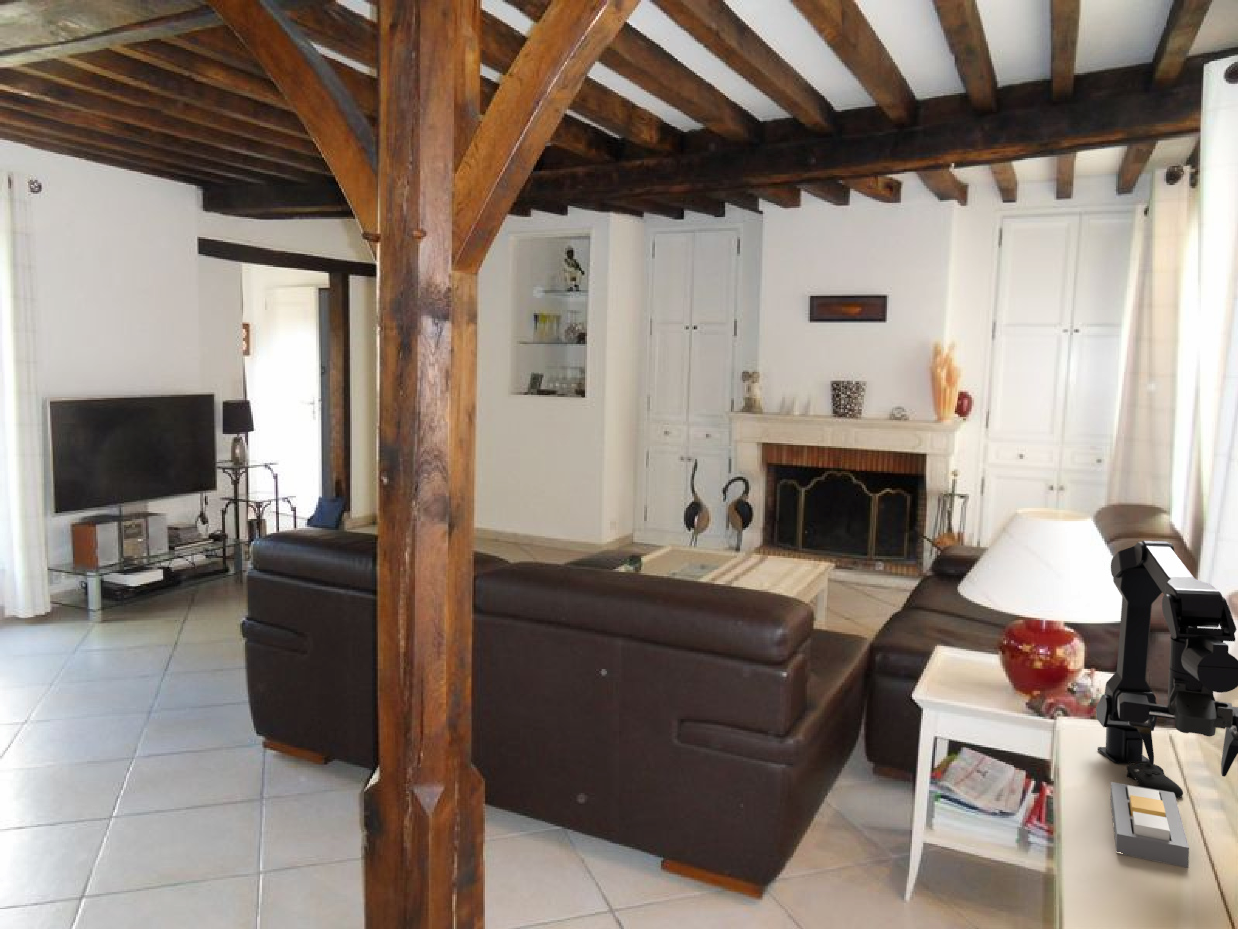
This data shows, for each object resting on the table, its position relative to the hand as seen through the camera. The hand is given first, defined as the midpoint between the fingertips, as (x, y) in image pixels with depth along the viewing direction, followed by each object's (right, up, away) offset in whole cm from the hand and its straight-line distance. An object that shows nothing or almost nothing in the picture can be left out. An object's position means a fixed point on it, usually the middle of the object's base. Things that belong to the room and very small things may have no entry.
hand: (1186, 769), depth 133 cm
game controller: (+6, -10, +19) cm, 22 cm away
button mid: (-4, -8, +3) cm, 10 cm away
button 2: (-7, -9, -2) cm, 12 cm away
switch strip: (-4, -11, +3) cm, 12 cm away
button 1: (-2, -9, +8) cm, 12 cm away
